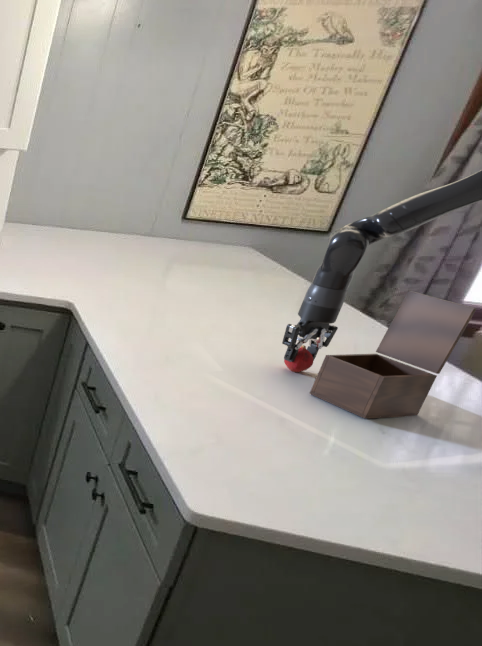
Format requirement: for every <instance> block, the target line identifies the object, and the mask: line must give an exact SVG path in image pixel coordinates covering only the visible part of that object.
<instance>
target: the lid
mask: <svg viewBox="0 0 482 646" xmlns="http://www.w3.org/2000/svg"><path fill="white" fill-rule="evenodd" d="M476 311H477V308H476V307H473V306H468V305H465V304H461V303H458V302H454V301H451V300H447V299H443V298H439V297H435V296H432V295H428V294H424V293H420V292H416V291H414V290H407V292H406V294H405V296H404V298H403V300H402V302H401V303H400V305H399V307H398V309H397V310H396V313H395V315H394V317H393V318H392V319H391V320H392V321H391V322H390V324H389V326H388V328H387V330H386V331H385V334H384V335H383V337H382V339H381V341H380V343H379V345H378V347H377V348H376V350H375V353H377V354H379V355H382V356H385V357H388V358H391V359H393V360H396V361H399V362H402V363H404V364H407V365H410V366H413V367H416V368H418V369H421V370H424V371H427V372H430V373H432V374H435V375H440V374H441V372H442V370H443V368H444V366H445V365H446V363H447V362H448V359H449V358H450V356H451V354H452V353H453V351H454V350H455V347H456V346H457V344H458V342H459V340H460V339H461V337H462V336H463V334H464V332H465V330H466V328H467V326H468V325H469V323H470V321H471V320H472V318H473V316H474V314H475V313H476Z"/></svg>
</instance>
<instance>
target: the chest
mask: <svg viewBox="0 0 482 646" xmlns="http://www.w3.org/2000/svg"><path fill="white" fill-rule="evenodd" d="M437 377H438V374H435V373H432V372H429V371H426V370H424V369H421V368H418V367H415V366H413V365H410V364H407V363H404V362H402V361H399V360H396V359H393V358H390V357H388V356H385V355H382V354H379V353H350V354H349V353H347V354H325V357H324V359H323V361H322V363H321V366H320V369H319V370H318V372H317V374H316V377H315V380H314V382H313V384H312V387H311V389H310V391H309V395H311V396H314V397H316V398H318V399H321V400H323V401H325V402H327V403H329V404H331V405H333V406H335V407H338V408H340V409H343V410H345V411H347V412H349V413H351V414H354V415H356V416H358V417H361V418H363V419H365V420H366V419H386V418H387V419H389V418H403V417H404V418H405V417H414V416H418V414H419V413H420V410H421V408H422V406H423V405H424V403H425V400H426V399H427V397H428V394H429V393H430V391H431V389H432V387H433V386H434V385H433V384H434V383H435V381H436V379H437Z"/></svg>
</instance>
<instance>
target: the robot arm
mask: <svg viewBox="0 0 482 646" xmlns="http://www.w3.org/2000/svg"><path fill="white" fill-rule="evenodd" d="M479 202H482V169H480V170H479V171H476V172H474V173H472V174H470V175H468V176H466V177H463V178H461V179H458V180H456V181H454V182H451V183H447V184H444V185H441V186H438V187H435V188H432V189H428V190H426V191H422V192H420V193H416V194H414V195H412V196H408V197H406V198H404V199H402V200H399V201H398V202H396V203H393V204H392V205H389V206H387V207H385V208H383V209H381V210H379V211H377V212H376V213H373V214H371V215H369V216H365V217H363V218H360V219H358V220H355V221H353V222H350V223H348V224H345V225H342V226H341V227H339V228H336V229H335V230H334V231H332V233H330V235H329V237H328V245H327V249H326V250H325V254H324V256H323V259H322V262H321V263H320V264H319V266H318V267H317V269H316V271H315V273H314V276H313V279H312V281H311V283H310V285H309V287H308V288H307V290H306V292H305V295H304V296H303V297H304V298H303V300H302V302H301V304H300V307H299V310H298V312H297V316H298V317H299V318H300V320H299V321H298V322H297V323H296V324H292V323H288V324H287V325H286V327H285V331H284V335H283V338H282V342H281V344H282V345H285V346H286V347H287V348H286V350H285V353H284V355H283V360H284V359H285V360H287V361H289V362H294V360H295V358H296V356H297V353H298V351H299V350H298V349H299V348H300V347H301V346H302V345H305V344H307V343H308V346H307V347H306V349H307V350H308V351H309V352H310V353H311V354H312V356H313V362H314V361H315V360H316V357H317V355H318V352H319V351H320V350H322V349H323V347H324V348H328V347H329V345H330V343H331V342H332V340H333V338H334V337H335V334H336V332H337V331H338V329H339V327H338V326H337V325H333V324H335V323H336V321H337V319H338V316H339V314H340V312H341V310H342V307H343V305H344V302H345V301H346V297H347V295H348V294H347V293H348V290H349V287H350V286H351V283H352V280H353V278H354V275H355V273H356V272H355V271H356V270H357V268H358V266H359V265H360V263H361V261H362V259H363V258H364V256H365V254H366V252H367V249H368V247H369V246H370V245H373V244H375V243H377V242H379V241H382V240H385V239H386V238H393V237H397V236H399V235H402V234H405V233H407V232H409V231H411V230H413V229H416V228H419V227H420V226H423V225H424V224H428V223H429V222H431V221H434V220H436V219H439V218H441V217H443V216H445V215H447V214H450V213H452V212H455V211H458V210H460V209H463V208H465V207H468V206H470V205H473V204H476V203H479ZM297 341H298V342H297Z"/></svg>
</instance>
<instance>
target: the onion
mask: <svg viewBox="0 0 482 646" xmlns="http://www.w3.org/2000/svg"><path fill="white" fill-rule="evenodd" d="M298 350H299V351H298V353H297V356H296V358H295V360H294V362H289V361H287V360H285V359H284V358H283V360H284V361H283V362H284V365H285V366H286V367H287V369H288V370H290V372H292V373H299V372H300V373H301V372H304V371H307V370H308V369H310V368H311V367H312V366H313V364H314V361H313V356H312V354H311V353H310V352H309V351H308V350H307V346H306V345H305V344H303V345H302V346H301V347H300V348H299V349H298Z"/></svg>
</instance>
